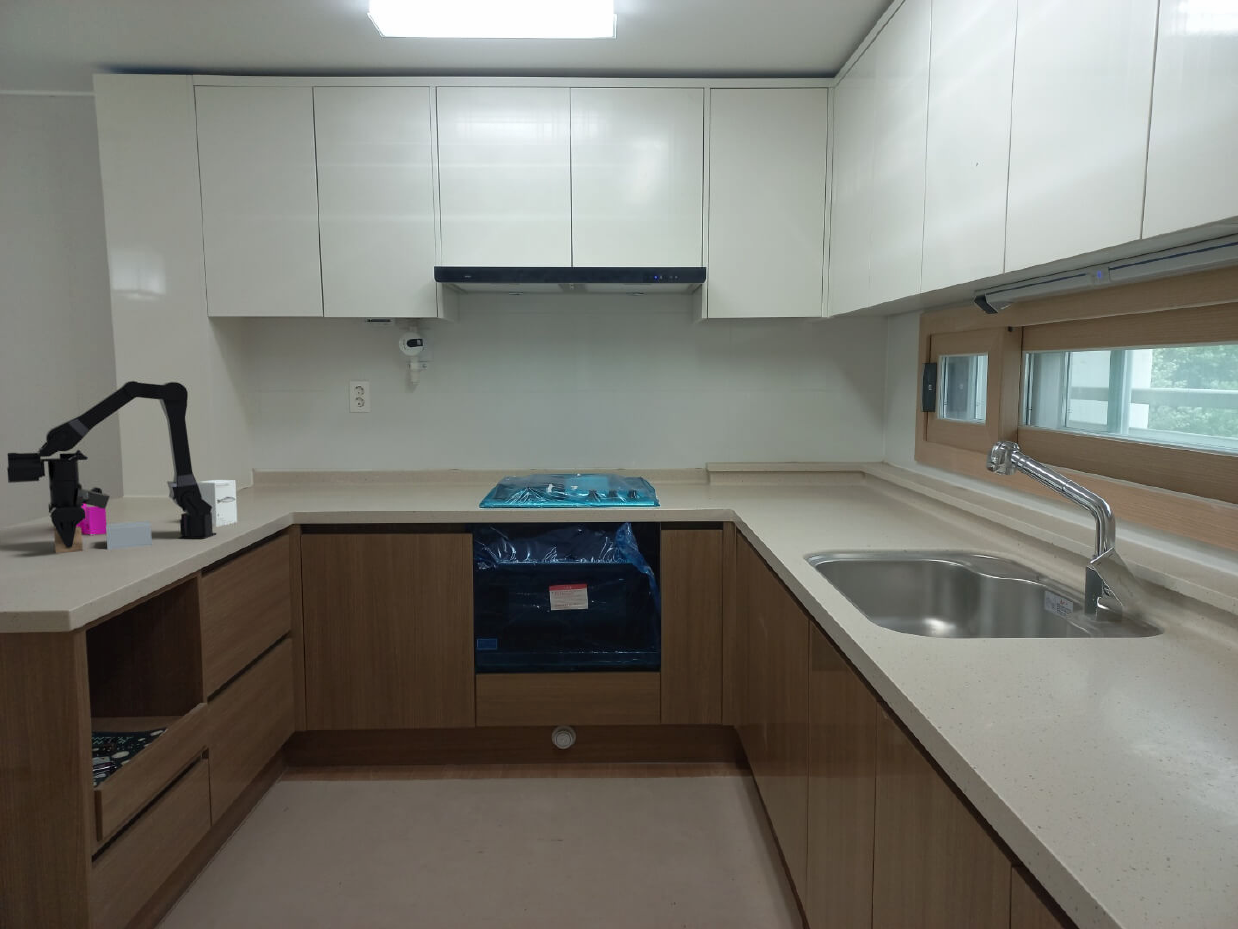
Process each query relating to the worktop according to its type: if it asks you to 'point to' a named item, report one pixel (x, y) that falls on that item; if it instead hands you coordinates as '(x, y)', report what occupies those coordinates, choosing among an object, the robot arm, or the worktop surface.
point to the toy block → (93, 520)
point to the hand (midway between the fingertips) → (68, 545)
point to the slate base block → (128, 534)
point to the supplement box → (220, 500)
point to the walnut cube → (61, 546)
